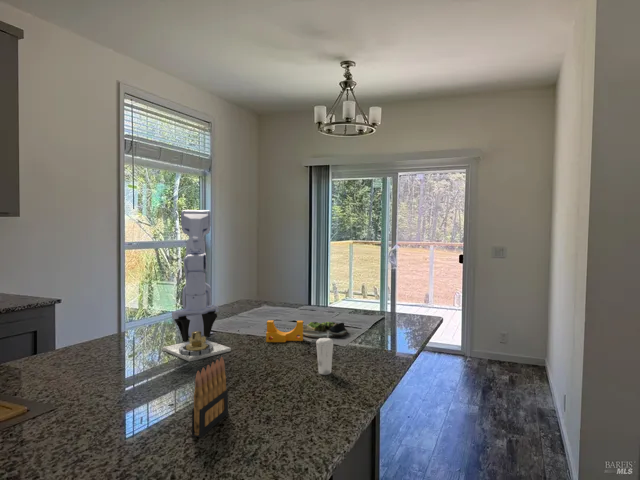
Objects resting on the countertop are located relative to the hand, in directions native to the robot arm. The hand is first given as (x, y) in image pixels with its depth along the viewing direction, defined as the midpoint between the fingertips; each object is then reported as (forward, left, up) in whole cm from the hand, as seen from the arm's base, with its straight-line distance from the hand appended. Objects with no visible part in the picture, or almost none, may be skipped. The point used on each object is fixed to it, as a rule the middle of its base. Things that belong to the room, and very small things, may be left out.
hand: (196, 339), depth 130 cm
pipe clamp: (+8, +28, -5) cm, 30 cm away
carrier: (-2, +1, -4) cm, 5 cm away
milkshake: (+40, +14, -5) cm, 42 cm away
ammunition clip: (+44, -23, -5) cm, 49 cm away
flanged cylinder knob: (0, 0, -3) cm, 3 cm away
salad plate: (+10, +45, -5) cm, 47 cm away
